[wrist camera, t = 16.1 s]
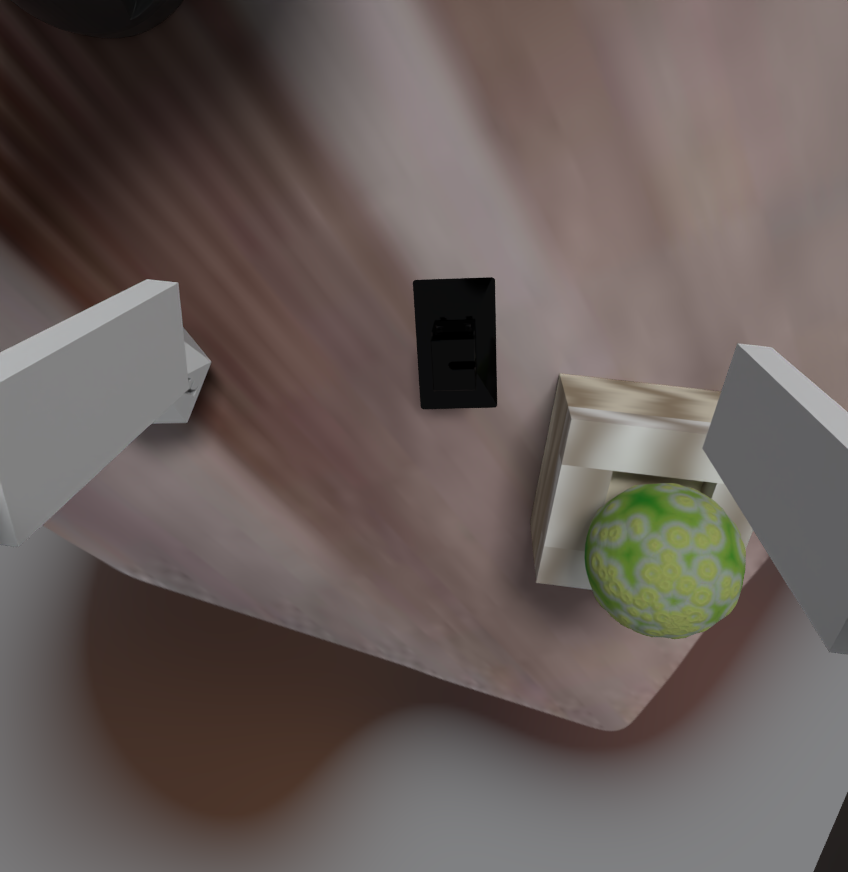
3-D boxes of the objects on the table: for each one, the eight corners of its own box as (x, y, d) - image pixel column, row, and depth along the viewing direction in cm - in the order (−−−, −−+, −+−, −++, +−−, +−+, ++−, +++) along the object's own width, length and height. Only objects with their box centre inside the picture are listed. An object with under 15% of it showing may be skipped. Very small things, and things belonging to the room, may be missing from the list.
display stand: (530, 521, 55) (536, 582, 48) (559, 373, 48) (571, 418, 41) (691, 541, 54) (722, 606, 47) (744, 394, 48) (788, 443, 41)
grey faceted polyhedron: (171, 416, 54) (198, 456, 47) (61, 385, 49) (72, 425, 41) (206, 328, 53) (239, 354, 46) (97, 287, 48) (114, 309, 40)
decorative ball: (556, 480, 45) (560, 594, 37) (700, 431, 40) (739, 549, 33) (610, 565, 49) (623, 682, 41) (744, 530, 45) (787, 653, 37)
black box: (505, 419, 51) (507, 447, 47) (411, 420, 52) (404, 448, 48) (505, 254, 45) (507, 269, 41) (398, 259, 46) (389, 274, 42)
